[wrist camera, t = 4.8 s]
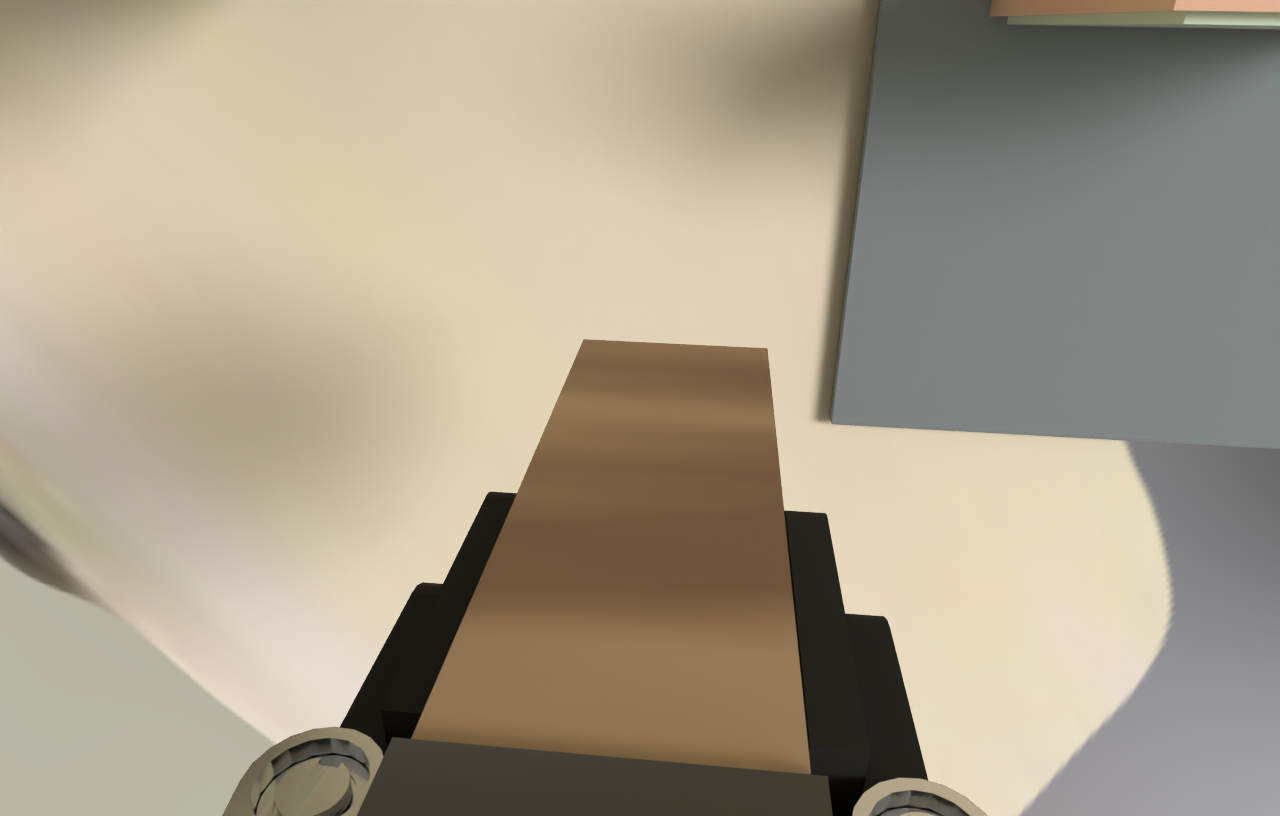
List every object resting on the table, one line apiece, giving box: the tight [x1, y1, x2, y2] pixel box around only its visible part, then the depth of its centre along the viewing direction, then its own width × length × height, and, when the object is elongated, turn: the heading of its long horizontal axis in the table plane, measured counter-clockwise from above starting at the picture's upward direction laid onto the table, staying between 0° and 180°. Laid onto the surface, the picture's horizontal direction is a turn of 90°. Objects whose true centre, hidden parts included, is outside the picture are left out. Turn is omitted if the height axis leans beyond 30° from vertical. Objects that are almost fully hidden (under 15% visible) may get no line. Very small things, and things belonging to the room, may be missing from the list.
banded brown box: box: [357, 340, 833, 816], centre depth 9 cm, size 5×3×14 cm
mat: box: [830, 0, 1280, 449], centre depth 26 cm, size 16×16×1 cm
